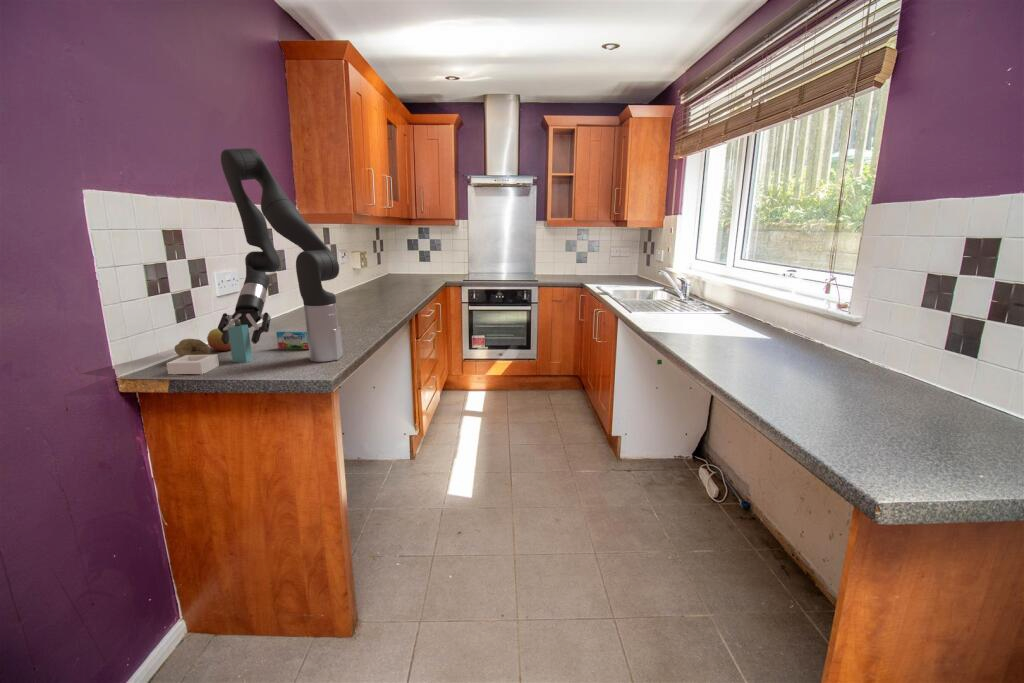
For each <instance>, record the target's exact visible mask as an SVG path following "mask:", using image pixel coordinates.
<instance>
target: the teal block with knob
mask: <svg viewBox="0 0 1024 683" xmlns="http://www.w3.org/2000/svg"><path fill="white" fill-rule="evenodd" d="M249 329H250V328H248V325H241V322H240V319H235V320H234V325H233V326H230V327H228V332H229V339H230V346H231V350H230V352H231V356H232V357H231V358H232V363H233V364H235V363H234V362H243V363H248V362H250V361H252V360H253V359H254V358H253V352H252V346H251V336H250V331H249ZM251 359H252V360H251ZM249 360H250V361H249Z"/></svg>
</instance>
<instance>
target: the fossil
mask: <svg viewBox="0 0 1024 683" xmlns="http://www.w3.org/2000/svg"><path fill="white" fill-rule="evenodd" d="M208 345H209V344H208V343H205V342H203V341H202V340H201V339H197V338H184V339H182V340H180V341H179V342H178V344H176V345H175V346H174V352H175V354H176V355H178V356H180V357H183V356H185V355H211V350H210V346H208Z"/></svg>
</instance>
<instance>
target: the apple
mask: <svg viewBox="0 0 1024 683" xmlns="http://www.w3.org/2000/svg"><path fill="white" fill-rule="evenodd" d="M222 334H223V333H222V332H221V331H220V330H219V329H218V327H217V328H214V329H211V330H210V331H209V333H208V334H207V337H206V340H207V341H206V342H207V345H209V346H208V347H209V348H211V349H212V350H214V351H216V352H227V351H228V350H229V351H231V346H230V339H229V342H228V344H224V343H223V342H222V340H221V338H222Z"/></svg>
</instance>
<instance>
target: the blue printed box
mask: <svg viewBox="0 0 1024 683" xmlns="http://www.w3.org/2000/svg"><path fill="white" fill-rule="evenodd" d="M275 334H276V339H277V341H276V342H277V348H278V350H288V349H309V348H308V339H307V330H305V331H304V330H301V331H300V330H278V331H276V333H275Z"/></svg>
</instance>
